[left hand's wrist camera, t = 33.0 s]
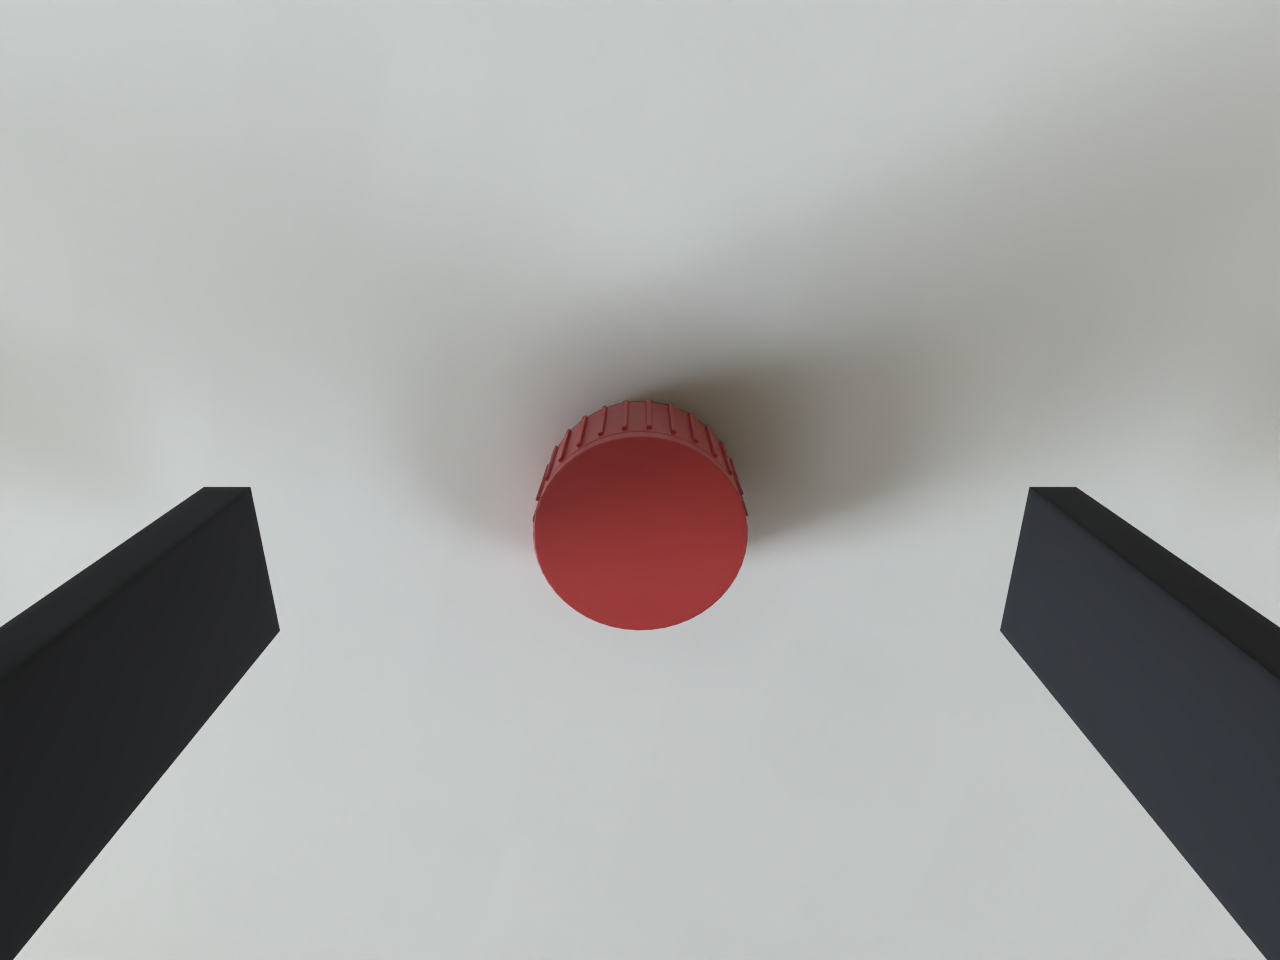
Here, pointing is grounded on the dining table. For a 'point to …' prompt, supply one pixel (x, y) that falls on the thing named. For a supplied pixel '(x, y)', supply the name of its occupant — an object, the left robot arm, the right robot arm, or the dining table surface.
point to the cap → (640, 517)
